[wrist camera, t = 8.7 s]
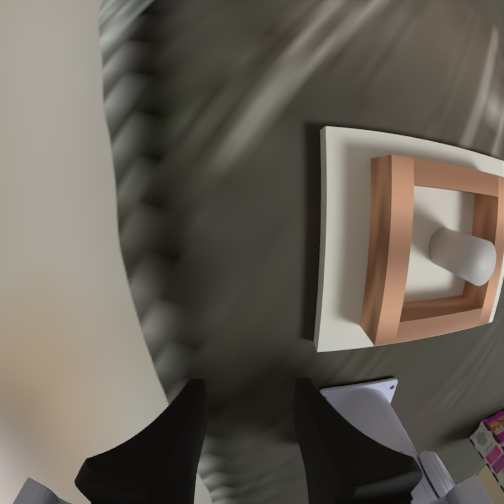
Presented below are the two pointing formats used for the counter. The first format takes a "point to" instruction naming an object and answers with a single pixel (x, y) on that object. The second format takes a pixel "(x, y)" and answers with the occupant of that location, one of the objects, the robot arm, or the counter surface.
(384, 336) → the loop
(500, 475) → the candy bar box
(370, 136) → the hook board
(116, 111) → the counter surface
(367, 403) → the robot arm
